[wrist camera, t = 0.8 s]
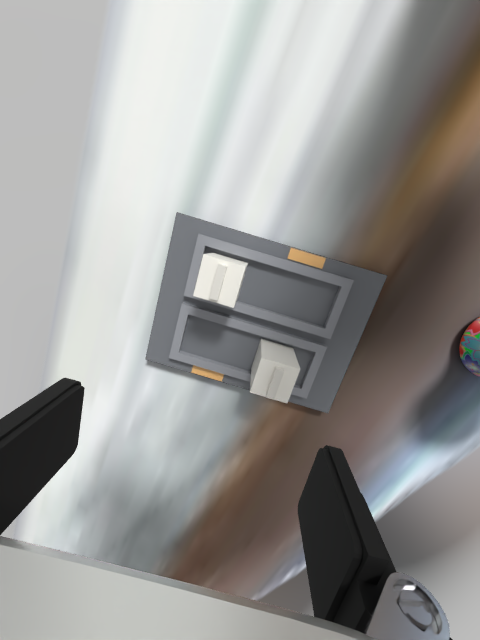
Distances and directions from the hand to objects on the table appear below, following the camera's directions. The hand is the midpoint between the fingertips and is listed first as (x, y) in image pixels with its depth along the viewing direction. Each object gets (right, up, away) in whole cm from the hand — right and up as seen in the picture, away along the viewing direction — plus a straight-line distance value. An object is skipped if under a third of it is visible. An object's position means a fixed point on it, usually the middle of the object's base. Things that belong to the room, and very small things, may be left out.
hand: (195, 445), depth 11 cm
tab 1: (0, +10, +21) cm, 23 cm away
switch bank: (+4, +5, +23) cm, 24 cm away
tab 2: (+6, 0, +23) cm, 24 cm away
